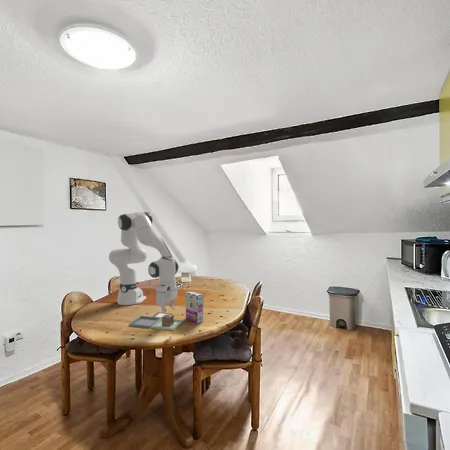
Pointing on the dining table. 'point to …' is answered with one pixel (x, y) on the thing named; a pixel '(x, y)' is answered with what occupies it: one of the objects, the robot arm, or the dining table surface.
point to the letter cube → (167, 320)
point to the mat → (161, 314)
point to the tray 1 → (144, 321)
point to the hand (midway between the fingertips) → (167, 309)
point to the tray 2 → (159, 326)
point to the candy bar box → (194, 306)
